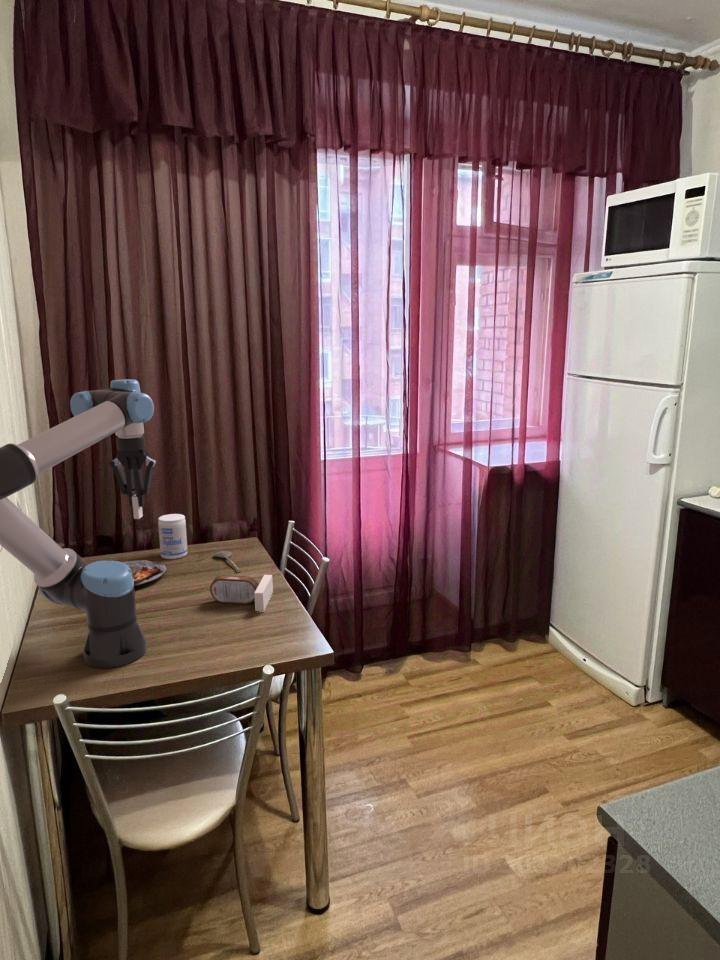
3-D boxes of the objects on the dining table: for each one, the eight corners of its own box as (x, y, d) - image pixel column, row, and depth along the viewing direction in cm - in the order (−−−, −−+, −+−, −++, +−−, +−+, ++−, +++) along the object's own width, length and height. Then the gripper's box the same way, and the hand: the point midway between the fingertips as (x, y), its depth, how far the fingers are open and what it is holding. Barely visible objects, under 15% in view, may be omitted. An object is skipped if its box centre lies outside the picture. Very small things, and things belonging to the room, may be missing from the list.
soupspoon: (228, 555, 235) (211, 559, 232) (227, 546, 235) (210, 550, 232) (248, 571, 216) (229, 576, 213) (247, 562, 216) (228, 567, 213)
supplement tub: (163, 561, 226) (160, 522, 223) (158, 554, 234) (154, 515, 231) (190, 557, 231) (187, 518, 227) (184, 549, 239) (181, 512, 235)
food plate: (181, 574, 214) (180, 564, 213) (122, 599, 195) (121, 588, 195) (134, 562, 228) (132, 553, 227) (75, 584, 209) (73, 574, 208)
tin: (261, 601, 192) (259, 575, 190) (258, 605, 189) (256, 579, 187) (213, 599, 194) (211, 573, 192) (209, 603, 191) (207, 577, 189)
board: (263, 612, 184) (262, 593, 183) (255, 612, 184) (254, 593, 183) (273, 592, 198) (272, 574, 196) (265, 592, 198) (264, 574, 197)
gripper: (158, 433, 179) (165, 513, 184) (113, 433, 179) (121, 513, 185) (148, 438, 171) (155, 521, 177) (101, 438, 172) (110, 521, 178)
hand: (138, 517), depth 181 cm, fingers closed
